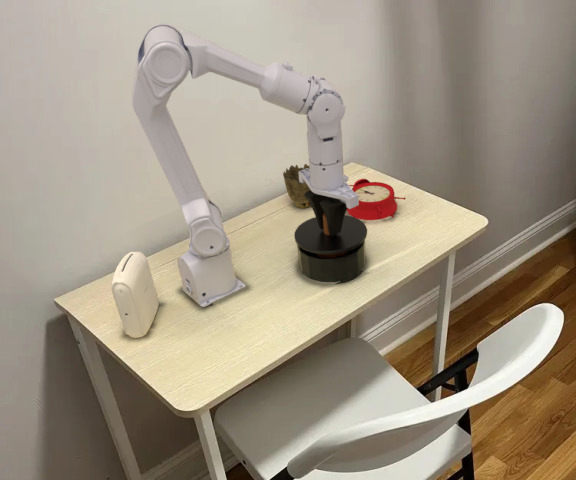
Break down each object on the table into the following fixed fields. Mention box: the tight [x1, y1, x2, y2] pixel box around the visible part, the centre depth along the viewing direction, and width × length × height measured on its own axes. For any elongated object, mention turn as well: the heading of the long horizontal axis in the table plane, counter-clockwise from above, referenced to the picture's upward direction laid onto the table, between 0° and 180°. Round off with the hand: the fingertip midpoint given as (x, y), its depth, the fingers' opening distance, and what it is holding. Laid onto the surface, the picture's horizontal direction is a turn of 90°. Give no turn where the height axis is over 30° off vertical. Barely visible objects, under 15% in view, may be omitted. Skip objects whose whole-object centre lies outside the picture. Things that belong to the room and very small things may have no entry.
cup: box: [282, 163, 311, 209], centre depth 144 cm, size 8×7×8 cm
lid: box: [293, 213, 368, 255], centre depth 123 cm, size 13×13×5 cm
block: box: [316, 251, 348, 258], centre depth 127 cm, size 4×4×4 cm
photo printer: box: [110, 251, 160, 339], centre depth 117 cm, size 10×4×12 cm, turn 172°
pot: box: [296, 239, 366, 285], centre depth 127 cm, size 12×12×5 cm
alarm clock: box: [346, 178, 406, 221], centre depth 142 cm, size 10×6×15 cm
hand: (330, 230), depth 123 cm, fingers closed on lid, 2 cm apart
